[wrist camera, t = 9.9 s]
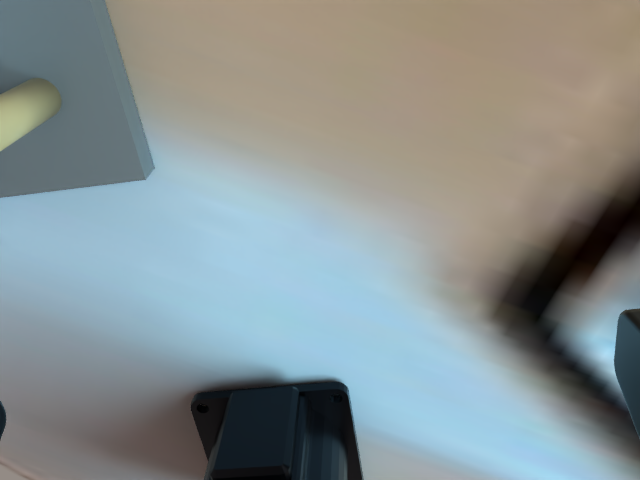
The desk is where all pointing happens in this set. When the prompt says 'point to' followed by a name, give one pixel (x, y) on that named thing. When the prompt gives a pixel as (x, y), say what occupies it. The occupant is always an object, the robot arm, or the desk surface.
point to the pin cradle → (65, 100)
